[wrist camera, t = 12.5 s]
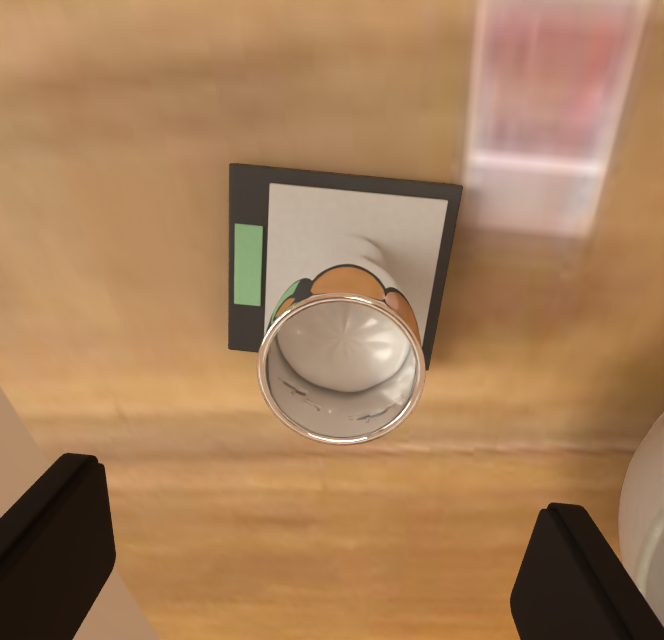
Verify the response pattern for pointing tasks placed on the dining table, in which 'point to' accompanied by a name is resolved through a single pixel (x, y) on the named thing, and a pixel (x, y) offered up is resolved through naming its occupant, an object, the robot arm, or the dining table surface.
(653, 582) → the decorative bowl
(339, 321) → the beer glass
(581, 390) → the dining table surface
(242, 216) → the scale
